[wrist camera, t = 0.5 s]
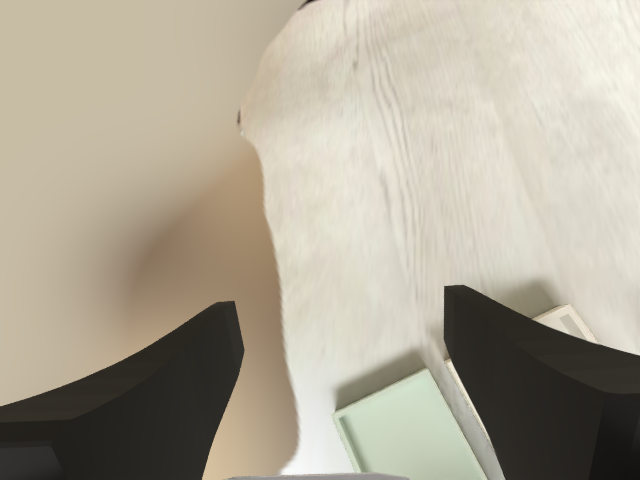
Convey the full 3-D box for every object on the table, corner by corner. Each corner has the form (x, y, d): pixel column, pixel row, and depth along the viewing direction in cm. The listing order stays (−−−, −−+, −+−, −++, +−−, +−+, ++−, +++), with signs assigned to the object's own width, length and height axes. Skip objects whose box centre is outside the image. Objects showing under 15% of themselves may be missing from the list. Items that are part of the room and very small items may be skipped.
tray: (499, 503, 30) (506, 514, 28) (394, 549, 31) (393, 563, 29) (426, 366, 34) (427, 368, 32) (335, 411, 35) (331, 415, 33)
